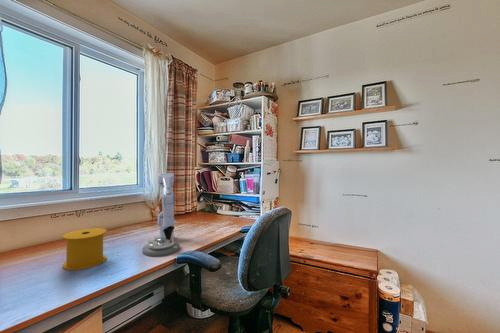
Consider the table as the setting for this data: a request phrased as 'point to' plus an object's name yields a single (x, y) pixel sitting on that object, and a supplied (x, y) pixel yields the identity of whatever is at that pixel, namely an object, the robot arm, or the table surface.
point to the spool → (84, 248)
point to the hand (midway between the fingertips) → (168, 239)
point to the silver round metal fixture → (160, 243)
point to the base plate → (160, 252)
